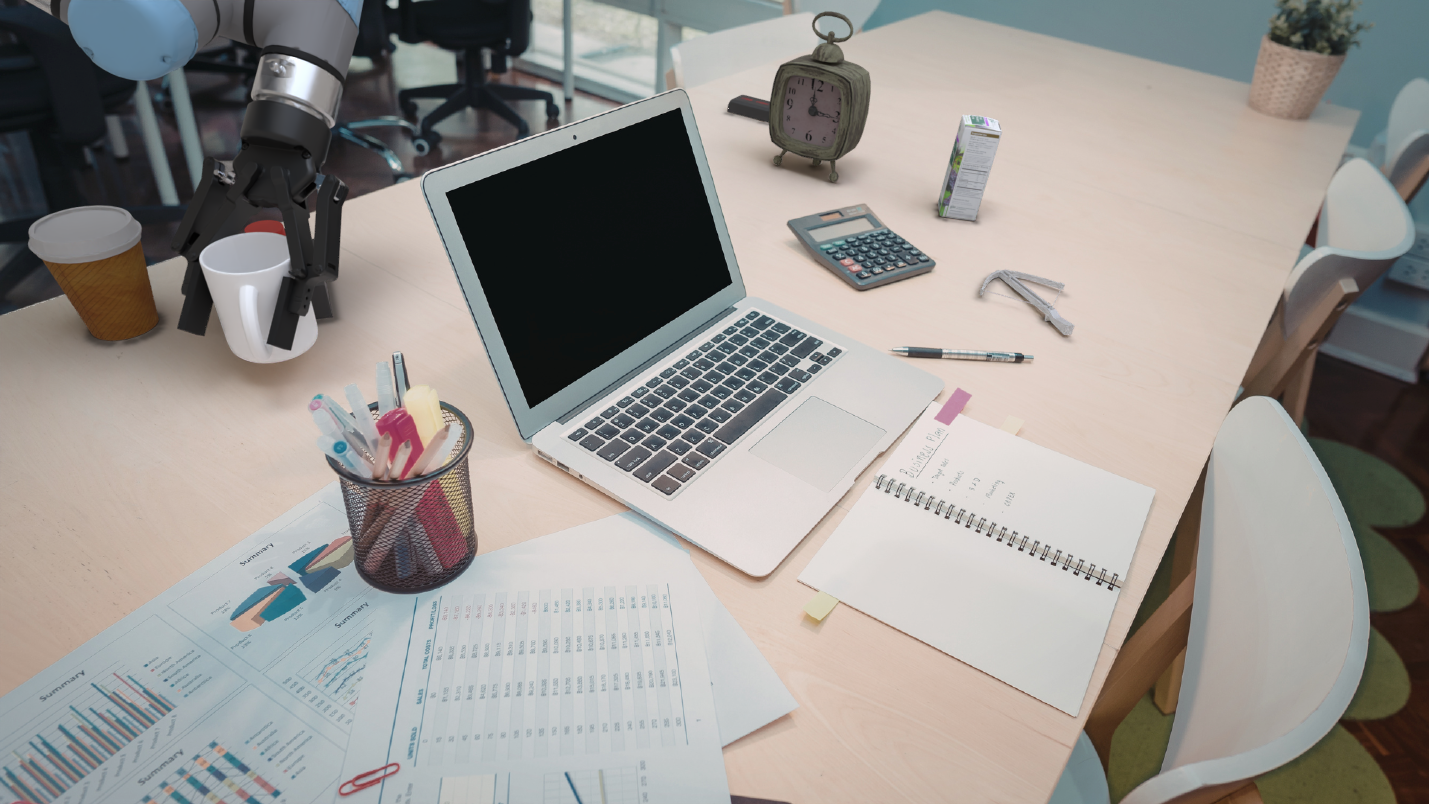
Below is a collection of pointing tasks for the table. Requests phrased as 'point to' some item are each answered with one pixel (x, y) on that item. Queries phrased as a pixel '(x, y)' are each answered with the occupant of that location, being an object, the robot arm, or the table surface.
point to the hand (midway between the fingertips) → (234, 339)
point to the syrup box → (969, 167)
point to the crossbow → (1033, 295)
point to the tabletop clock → (819, 102)
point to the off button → (266, 227)
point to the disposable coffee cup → (99, 268)
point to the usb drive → (750, 107)
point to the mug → (253, 294)
